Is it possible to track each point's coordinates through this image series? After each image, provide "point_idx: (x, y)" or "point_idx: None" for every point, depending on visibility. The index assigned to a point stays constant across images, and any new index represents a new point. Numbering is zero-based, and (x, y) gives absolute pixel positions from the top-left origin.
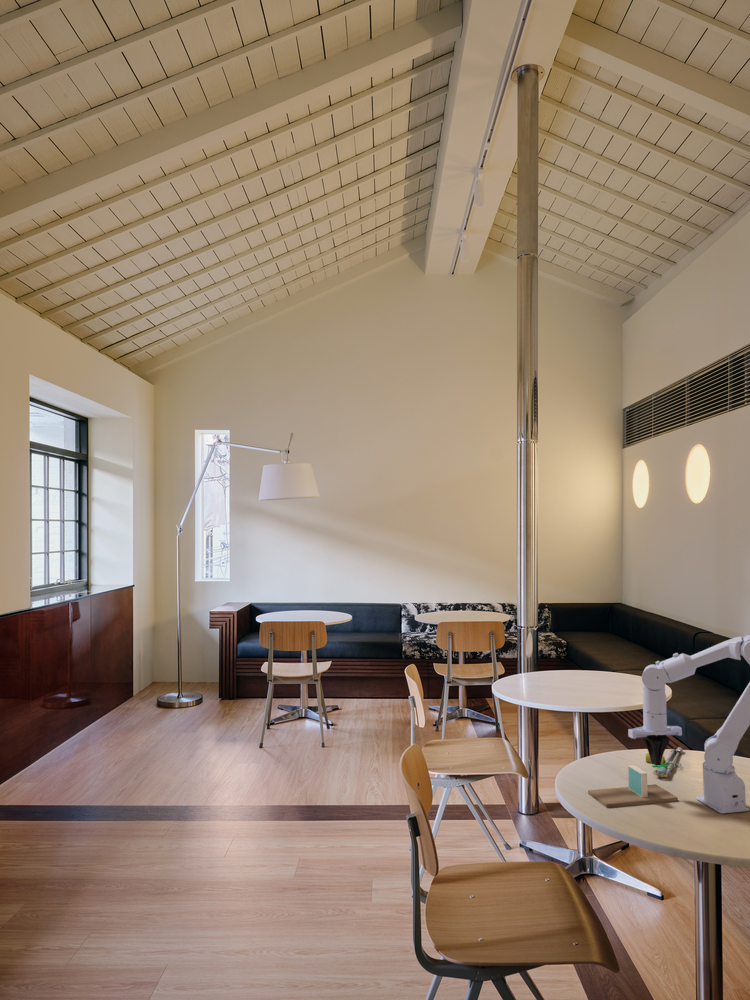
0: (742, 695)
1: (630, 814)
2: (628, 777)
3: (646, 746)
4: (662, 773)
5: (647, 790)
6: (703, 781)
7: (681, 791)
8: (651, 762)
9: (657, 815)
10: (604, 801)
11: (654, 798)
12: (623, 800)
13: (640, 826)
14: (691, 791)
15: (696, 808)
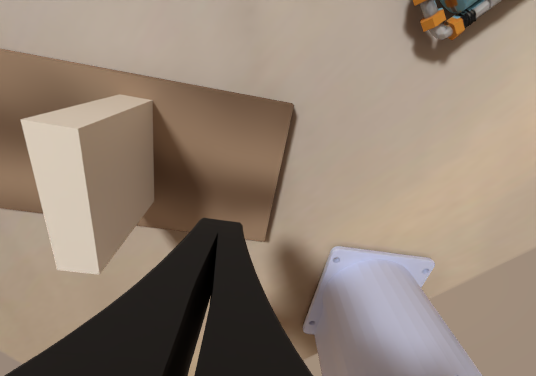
0: None
1: (27, 257)
2: (85, 104)
3: (92, 321)
4: (443, 14)
5: (143, 215)
6: (355, 334)
7: (353, 178)
8: (198, 222)
9: (117, 285)
10: None
11: (170, 221)
12: (27, 194)
13: (26, 314)
14: (388, 191)
15: (272, 287)
